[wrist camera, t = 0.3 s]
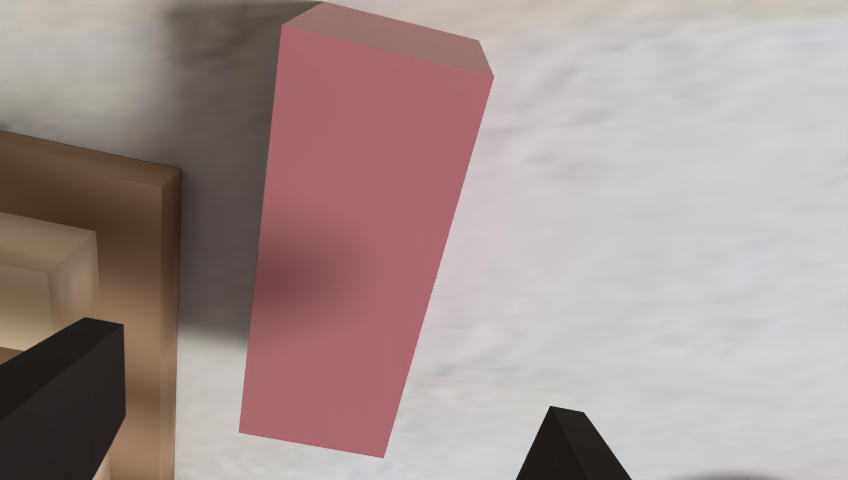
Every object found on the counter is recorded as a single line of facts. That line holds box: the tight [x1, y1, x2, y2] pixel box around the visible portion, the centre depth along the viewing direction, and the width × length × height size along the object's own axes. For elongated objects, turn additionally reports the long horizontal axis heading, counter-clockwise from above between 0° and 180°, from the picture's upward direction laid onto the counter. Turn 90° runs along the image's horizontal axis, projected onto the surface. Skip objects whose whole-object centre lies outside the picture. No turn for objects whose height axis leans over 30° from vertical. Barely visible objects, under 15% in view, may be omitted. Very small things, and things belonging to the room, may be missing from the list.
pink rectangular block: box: [239, 2, 494, 458], centre depth 17 cm, size 12×4×5 cm, turn 167°
